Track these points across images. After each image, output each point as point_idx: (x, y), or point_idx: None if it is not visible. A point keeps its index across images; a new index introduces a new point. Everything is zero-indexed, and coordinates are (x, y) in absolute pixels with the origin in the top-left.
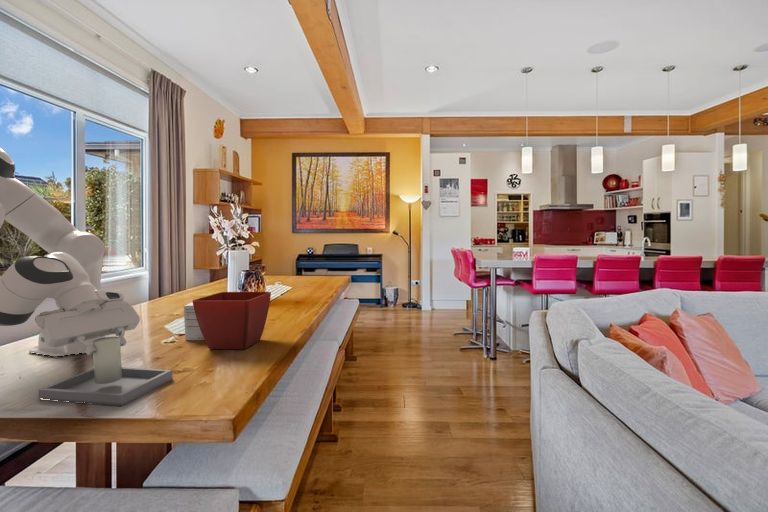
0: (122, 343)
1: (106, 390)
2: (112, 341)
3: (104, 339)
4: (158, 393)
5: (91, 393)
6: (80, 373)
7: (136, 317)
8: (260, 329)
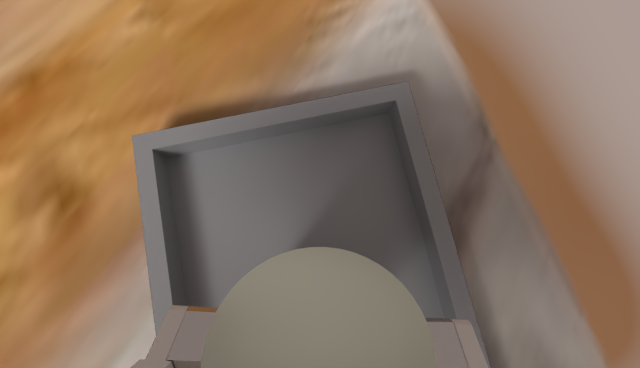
0: (208, 308)
1: None
2: (331, 249)
3: None
4: (276, 82)
5: (444, 209)
6: None
7: None
8: None
